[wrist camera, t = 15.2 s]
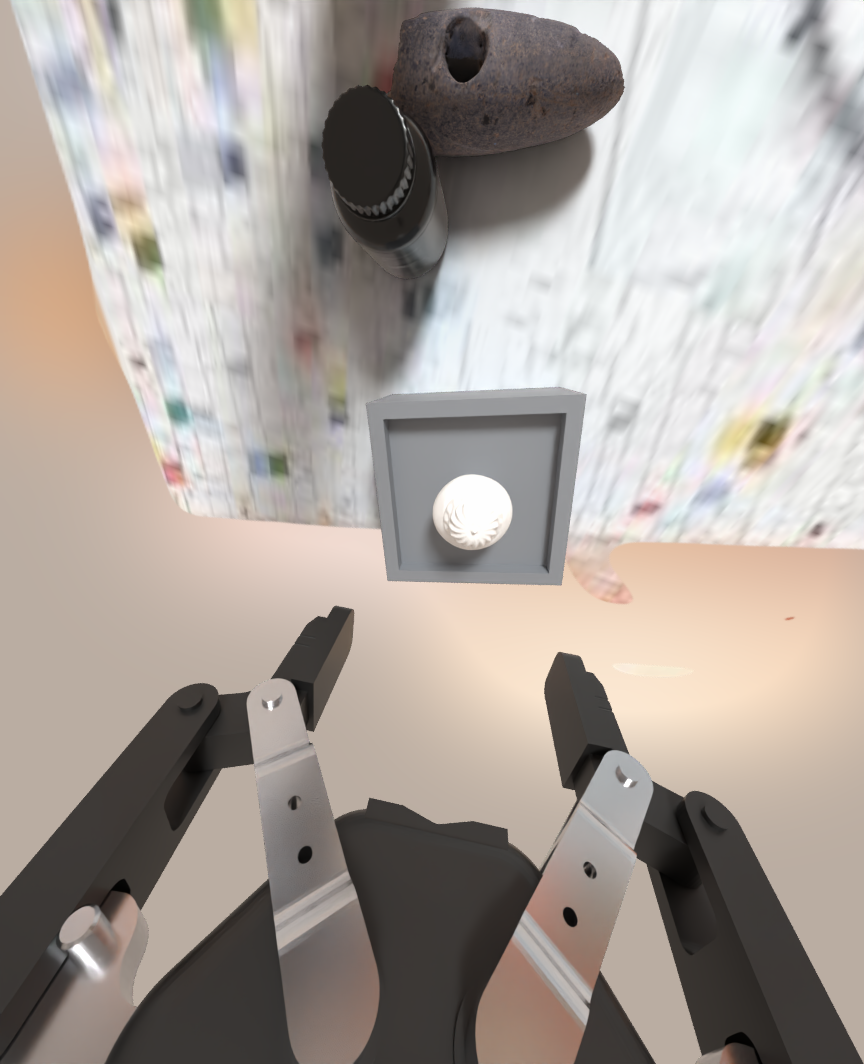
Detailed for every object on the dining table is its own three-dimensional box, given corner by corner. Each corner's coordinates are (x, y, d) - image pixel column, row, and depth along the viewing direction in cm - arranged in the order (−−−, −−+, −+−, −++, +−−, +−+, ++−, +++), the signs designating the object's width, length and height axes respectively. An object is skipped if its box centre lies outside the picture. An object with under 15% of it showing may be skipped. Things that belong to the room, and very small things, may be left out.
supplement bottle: (462, 197, 28) (452, 90, 17) (431, 294, 31) (405, 255, 20) (381, 159, 27) (318, 25, 17) (358, 261, 30) (291, 203, 20)
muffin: (425, 473, 29) (418, 503, 23) (497, 453, 28) (510, 479, 22) (445, 537, 32) (443, 579, 26) (512, 521, 31) (527, 561, 25)
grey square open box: (393, 394, 35) (365, 403, 27) (558, 386, 33) (586, 394, 24) (405, 537, 42) (387, 580, 33) (543, 538, 40) (561, 585, 31)
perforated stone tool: (617, 70, 24) (666, -34, 18) (598, 173, 26) (635, 113, 20) (402, 74, 25) (377, -21, 19) (401, 172, 28) (379, 116, 21)
